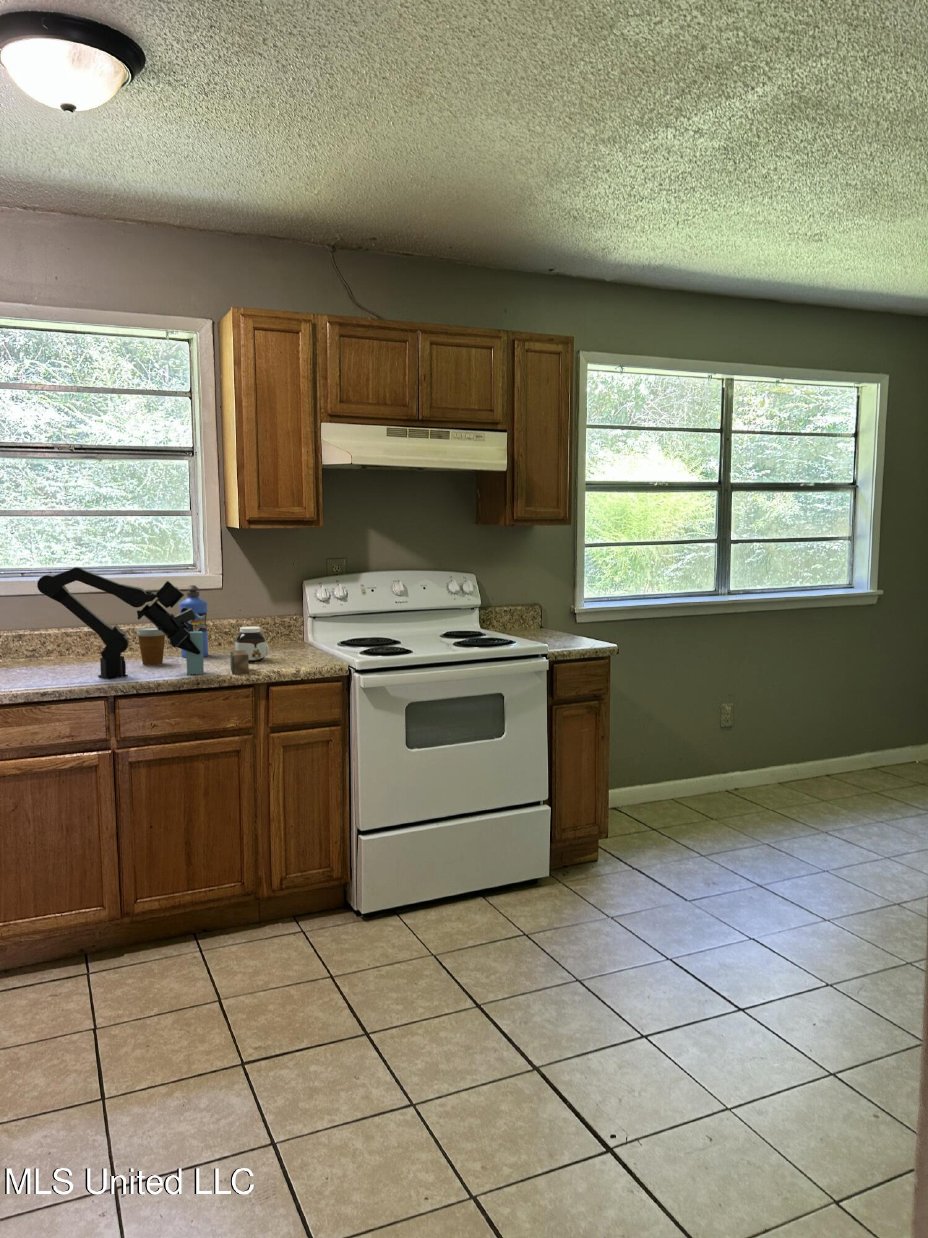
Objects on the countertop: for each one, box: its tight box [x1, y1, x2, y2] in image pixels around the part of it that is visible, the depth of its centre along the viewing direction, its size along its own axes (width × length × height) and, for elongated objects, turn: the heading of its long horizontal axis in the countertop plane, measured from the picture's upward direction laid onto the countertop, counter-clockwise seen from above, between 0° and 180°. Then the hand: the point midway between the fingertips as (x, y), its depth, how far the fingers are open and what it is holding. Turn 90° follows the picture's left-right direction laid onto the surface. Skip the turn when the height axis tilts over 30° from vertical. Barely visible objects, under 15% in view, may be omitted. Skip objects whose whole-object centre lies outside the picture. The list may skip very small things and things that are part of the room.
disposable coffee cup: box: [136, 626, 166, 666], centre depth 309 cm, size 10×10×12 cm
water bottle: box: [178, 585, 209, 659], centre depth 325 cm, size 9×9×25 cm
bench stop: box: [230, 650, 250, 675], centre depth 296 cm, size 5×10×6 cm, turn 17°
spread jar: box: [234, 625, 270, 664], centre depth 317 cm, size 12×11×12 cm
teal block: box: [186, 631, 205, 676], centre depth 292 cm, size 5×5×13 cm
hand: (199, 652), depth 292 cm, fingers closed on teal block, 5 cm apart
